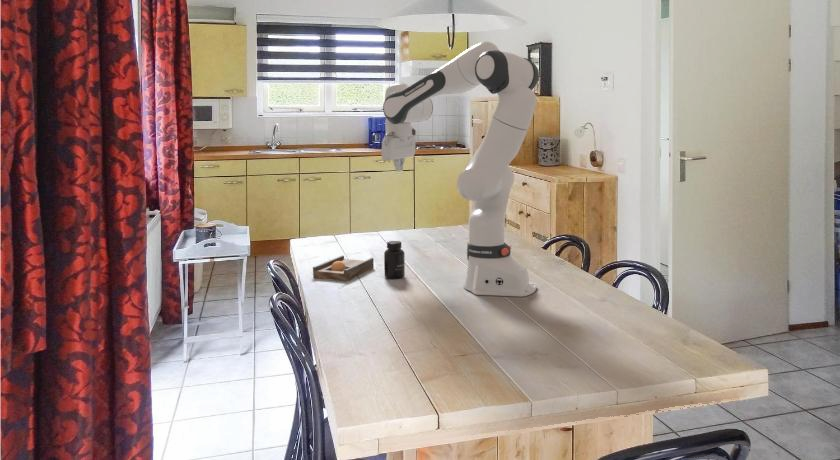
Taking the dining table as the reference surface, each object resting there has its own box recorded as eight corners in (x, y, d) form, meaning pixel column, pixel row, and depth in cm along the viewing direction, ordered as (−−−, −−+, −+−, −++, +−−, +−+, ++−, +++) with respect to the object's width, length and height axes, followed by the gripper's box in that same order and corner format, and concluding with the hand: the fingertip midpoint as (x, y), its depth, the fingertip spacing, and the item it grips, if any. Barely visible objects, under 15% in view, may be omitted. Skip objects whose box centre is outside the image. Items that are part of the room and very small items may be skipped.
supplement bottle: (402, 279, 222) (401, 244, 219) (382, 279, 223) (381, 243, 221) (406, 274, 228) (406, 240, 226) (387, 274, 230) (386, 239, 227)
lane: (373, 268, 238) (373, 258, 238) (346, 281, 221) (346, 270, 221) (341, 265, 243) (341, 255, 243) (313, 277, 226) (312, 267, 226)
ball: (339, 273, 225) (345, 278, 229) (344, 259, 227) (349, 264, 231) (326, 271, 227) (333, 276, 231) (331, 257, 228) (337, 263, 233)
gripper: (393, 132, 223) (394, 174, 225) (418, 130, 241) (419, 168, 244) (376, 132, 225) (377, 174, 228) (402, 130, 244) (403, 168, 246)
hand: (399, 171), depth 236 cm, fingers closed
